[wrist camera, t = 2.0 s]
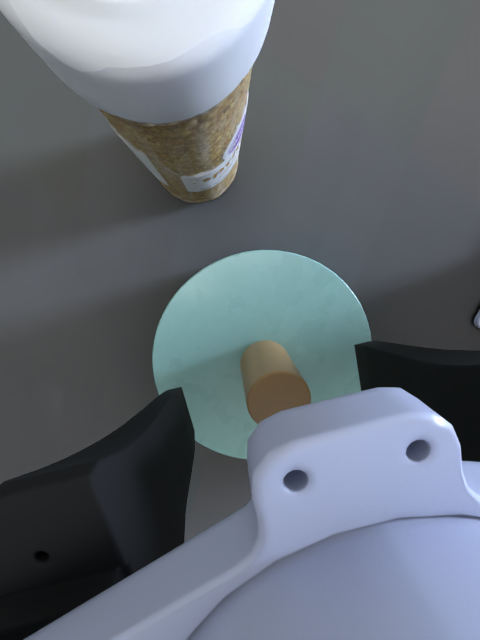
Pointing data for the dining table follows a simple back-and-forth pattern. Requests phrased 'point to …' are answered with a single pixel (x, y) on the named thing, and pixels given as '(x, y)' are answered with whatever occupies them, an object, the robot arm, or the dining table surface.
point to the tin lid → (257, 343)
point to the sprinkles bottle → (158, 76)
